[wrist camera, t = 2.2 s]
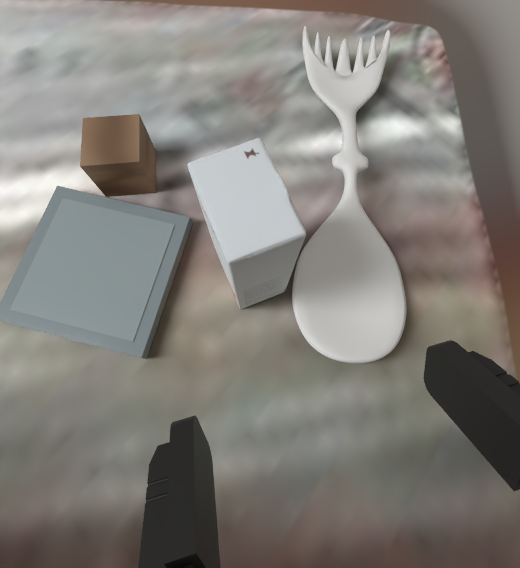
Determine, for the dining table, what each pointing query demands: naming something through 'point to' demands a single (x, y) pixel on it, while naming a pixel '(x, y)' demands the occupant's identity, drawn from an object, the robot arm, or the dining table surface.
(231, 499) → the dining table surface
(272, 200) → the skincare box
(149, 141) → the walnut block
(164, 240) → the plate
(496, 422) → the robot arm
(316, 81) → the spoon
